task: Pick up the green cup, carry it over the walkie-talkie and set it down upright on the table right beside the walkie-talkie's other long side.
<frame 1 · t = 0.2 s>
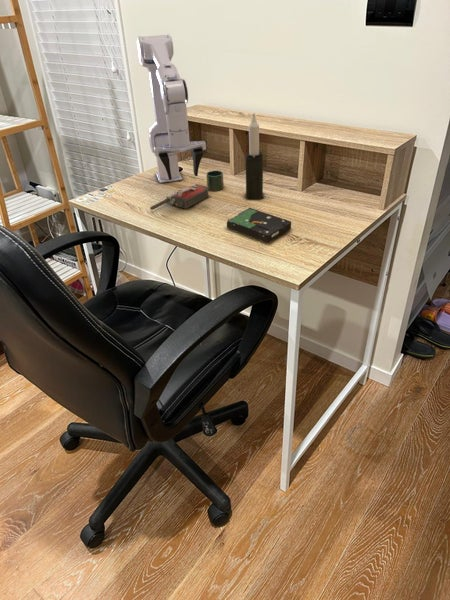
hand: (182, 176, 132), 10 cm above the table, tool pointing down, fingers open, 7 cm apart
disk drive: (258, 230, 125), on the table
walkie-talkie: (181, 204, 141), on the table
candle: (254, 196, 143), on the table
green cup: (215, 188, 150), on the table
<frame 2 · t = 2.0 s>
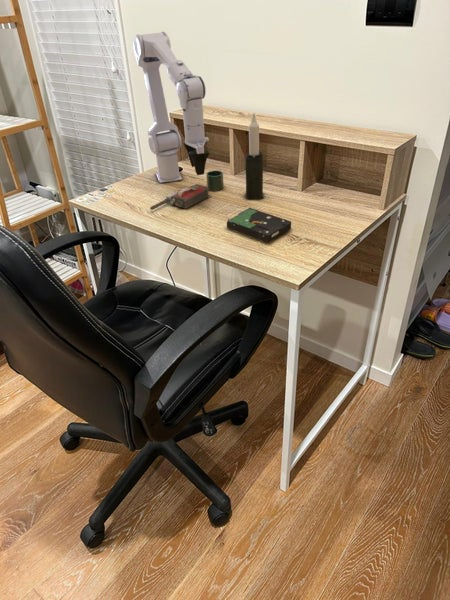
hand: (197, 170, 138), 9 cm above the table, tool pointing down, fingers open, 7 cm apart
nothing on the table moved.
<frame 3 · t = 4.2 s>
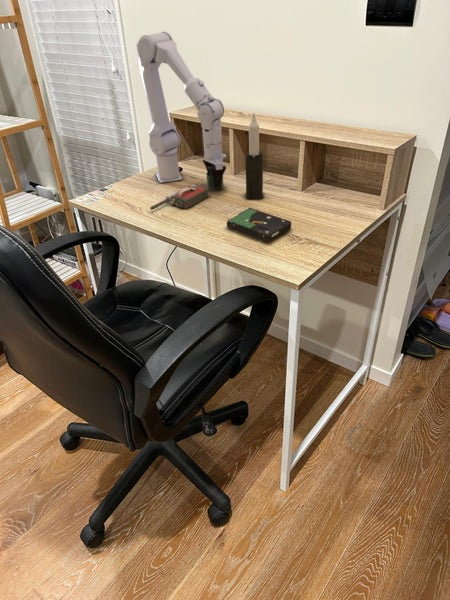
hand: (215, 184, 149), 1 cm above the table, tool pointing down, fingers closed on green cup, 5 cm apart
green cup: (215, 188, 150), on the table, touching gripper
everything else where it was.
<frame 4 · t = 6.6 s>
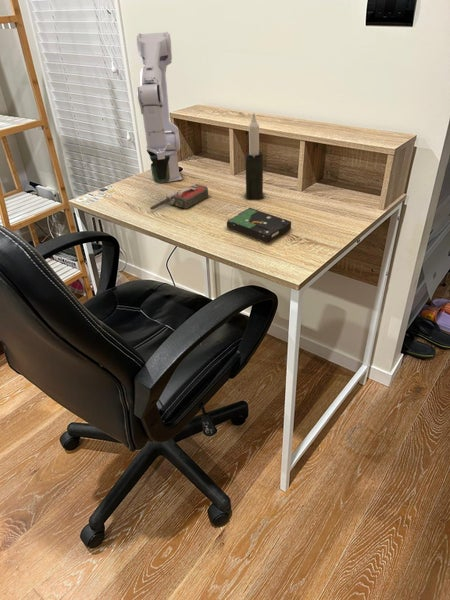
hand: (160, 175, 138), 8 cm above the table, tool pointing down, fingers closed on green cup, 5 cm apart
green cup: (161, 180, 139), point 7 cm above the table, touching gripper
everything else where it was.
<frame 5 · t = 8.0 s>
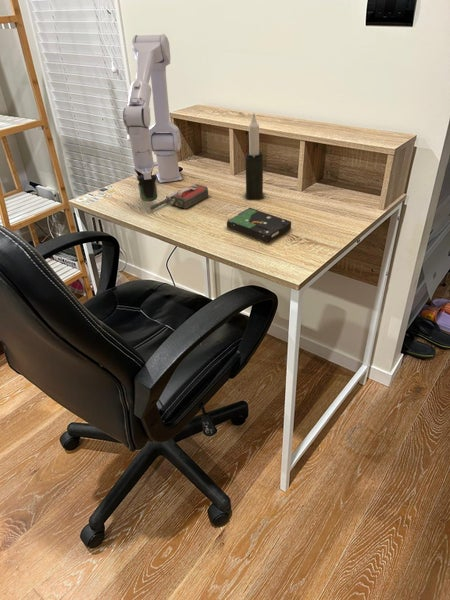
hand: (148, 194, 139), 4 cm above the table, tool pointing down, fingers closed on green cup, 5 cm apart
green cup: (149, 198, 140), point 2 cm above the table, touching gripper
everything else where it was.
when the fingers open (1 cm above the table, at t = 9.2 s): green cup stays where it is, on the table.
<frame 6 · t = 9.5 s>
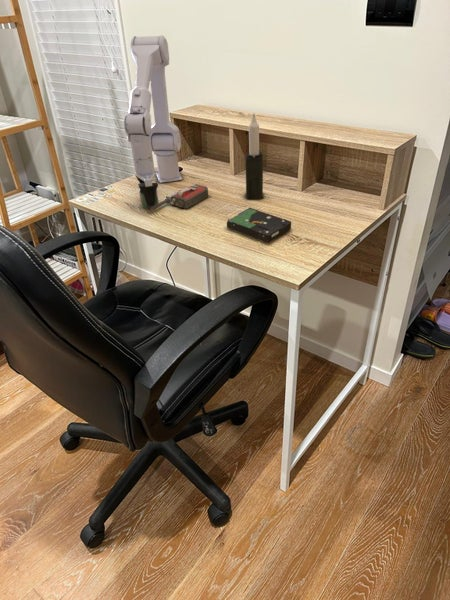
hand: (149, 200, 140), 2 cm above the table, tool pointing down, fingers open, 7 cm apart
walkie-talkie: (181, 204, 141), on the table, touching gripper
green cup: (150, 205, 141), on the table
everything else where it was.
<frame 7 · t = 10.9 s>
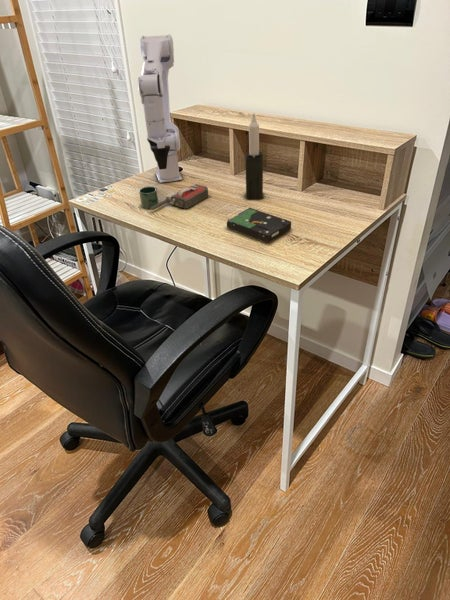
hand: (161, 164, 141), 10 cm above the table, tool pointing down, fingers open, 7 cm apart
walkie-talkie: (181, 204, 141), on the table
everything else where it was.
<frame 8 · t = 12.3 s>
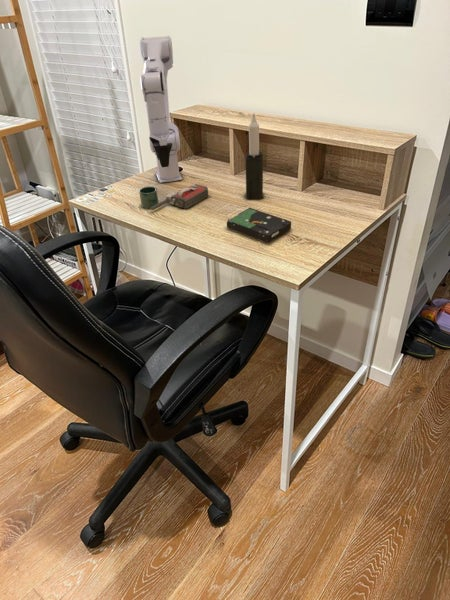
hand: (163, 163, 141), 10 cm above the table, tool pointing down, fingers open, 7 cm apart
nothing on the table moved.
at the end: green cup inside the target area on the table beside the walkie-talkie (2.4 cm from its centre), on the table; green cup tilted 0°; walkie-talkie moved 0.2 cm from its start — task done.
